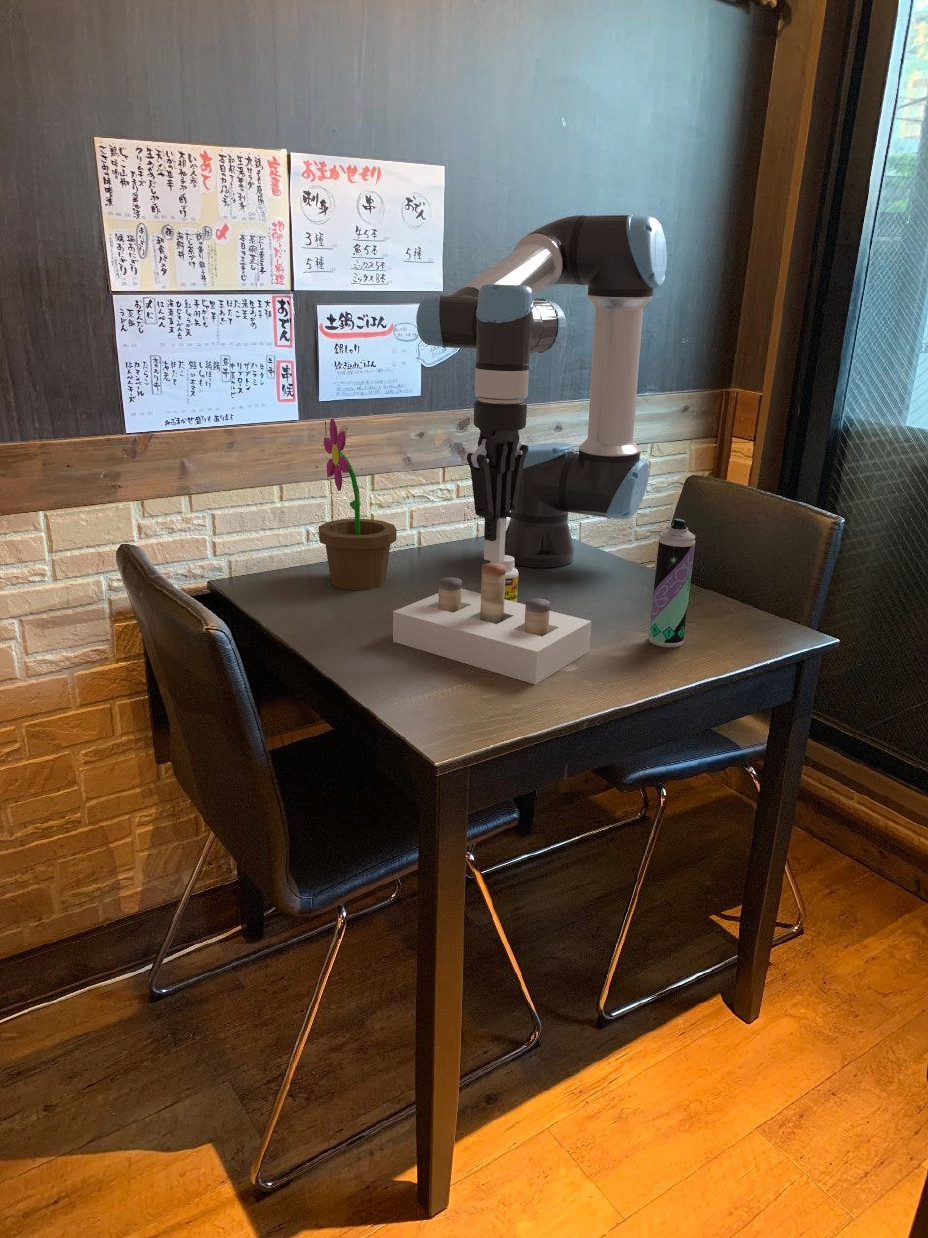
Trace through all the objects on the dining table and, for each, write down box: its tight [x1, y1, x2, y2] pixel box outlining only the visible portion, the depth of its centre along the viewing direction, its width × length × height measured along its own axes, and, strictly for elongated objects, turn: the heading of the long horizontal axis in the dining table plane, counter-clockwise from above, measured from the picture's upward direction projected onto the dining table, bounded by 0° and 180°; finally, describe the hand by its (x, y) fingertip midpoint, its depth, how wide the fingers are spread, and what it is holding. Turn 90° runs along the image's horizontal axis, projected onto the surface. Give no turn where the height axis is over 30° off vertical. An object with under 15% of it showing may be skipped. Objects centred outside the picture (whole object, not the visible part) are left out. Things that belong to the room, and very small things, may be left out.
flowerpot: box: [318, 417, 397, 591], centre depth 168 cm, size 14×14×30 cm
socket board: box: [392, 588, 593, 685], centre depth 144 cm, size 16×26×5 cm, turn 55°
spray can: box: [648, 517, 696, 648], centre depth 146 cm, size 6×6×20 cm
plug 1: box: [438, 576, 463, 613], centre depth 147 cm, size 4×4×9 cm
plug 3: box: [524, 597, 551, 637], centre depth 139 cm, size 4×4×9 cm
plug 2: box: [480, 562, 506, 624], centre depth 142 cm, size 4×4×9 cm
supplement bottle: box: [490, 555, 519, 603], centre depth 156 cm, size 6×6×10 cm
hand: (493, 559), depth 140 cm, fingers closed
